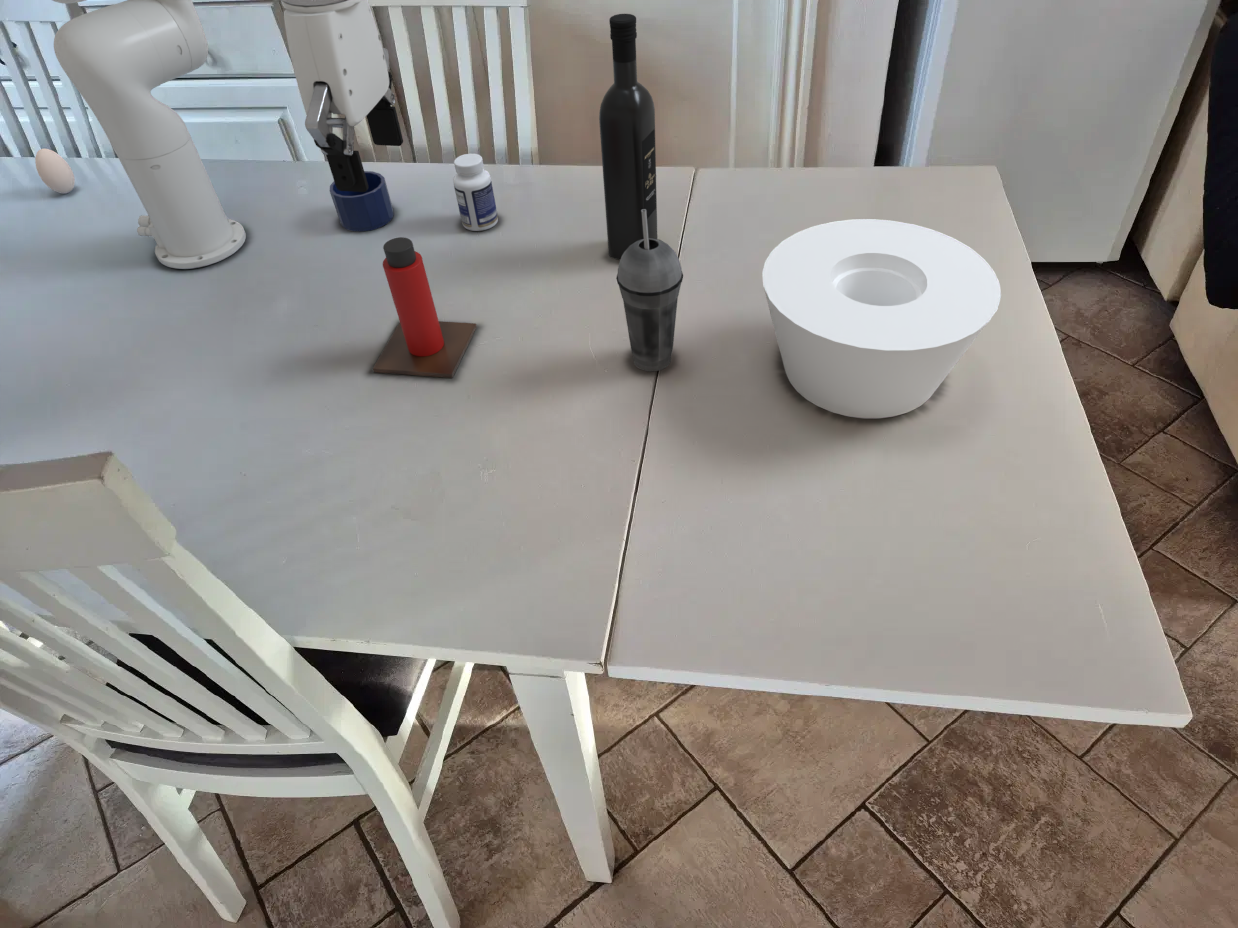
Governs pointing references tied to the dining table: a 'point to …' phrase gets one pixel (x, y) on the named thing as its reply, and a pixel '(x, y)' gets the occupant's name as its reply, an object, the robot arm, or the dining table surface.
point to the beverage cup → (650, 299)
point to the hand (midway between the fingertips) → (371, 166)
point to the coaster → (435, 365)
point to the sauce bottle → (412, 297)
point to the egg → (54, 171)
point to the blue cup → (364, 205)
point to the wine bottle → (627, 145)
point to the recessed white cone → (875, 312)
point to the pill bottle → (474, 193)
